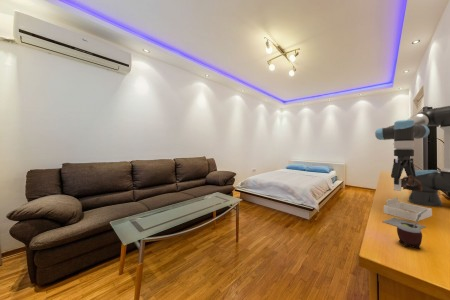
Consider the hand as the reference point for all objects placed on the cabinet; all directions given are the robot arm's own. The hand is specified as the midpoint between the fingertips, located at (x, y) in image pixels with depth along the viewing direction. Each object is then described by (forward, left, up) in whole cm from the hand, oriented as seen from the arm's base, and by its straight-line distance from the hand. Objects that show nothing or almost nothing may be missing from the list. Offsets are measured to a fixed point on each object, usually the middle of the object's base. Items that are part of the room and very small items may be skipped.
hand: (403, 189), depth 93 cm
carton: (-13, -4, -17) cm, 21 cm away
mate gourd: (+28, +13, -17) cm, 35 cm away
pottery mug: (+4, +3, +1) cm, 5 cm away
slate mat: (+6, +2, -17) cm, 18 cm away
